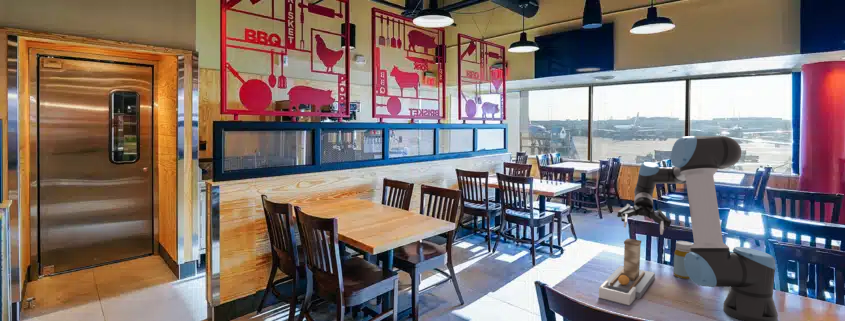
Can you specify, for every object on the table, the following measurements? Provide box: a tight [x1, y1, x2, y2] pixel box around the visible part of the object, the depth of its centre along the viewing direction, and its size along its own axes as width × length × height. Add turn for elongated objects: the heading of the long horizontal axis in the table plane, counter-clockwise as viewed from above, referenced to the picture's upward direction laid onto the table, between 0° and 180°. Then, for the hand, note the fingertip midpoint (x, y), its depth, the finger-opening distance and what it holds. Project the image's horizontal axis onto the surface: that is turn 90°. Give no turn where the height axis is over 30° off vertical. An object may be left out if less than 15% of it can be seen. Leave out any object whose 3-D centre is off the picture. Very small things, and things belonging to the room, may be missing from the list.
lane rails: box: [610, 268, 645, 290], centre depth 173 cm, size 8×21×1 cm, turn 140°
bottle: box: [672, 240, 693, 280], centre depth 182 cm, size 7×7×15 cm
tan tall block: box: [622, 237, 642, 281], centre depth 175 cm, size 5×8×15 cm, turn 140°
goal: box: [598, 280, 637, 307], centre depth 162 cm, size 11×9×4 cm
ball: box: [618, 275, 629, 285], centre depth 168 cm, size 4×4×4 cm
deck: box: [601, 265, 656, 300], centre depth 175 cm, size 14×26×2 cm, turn 140°
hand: (643, 228), depth 172 cm, fingers open, 13 cm apart
